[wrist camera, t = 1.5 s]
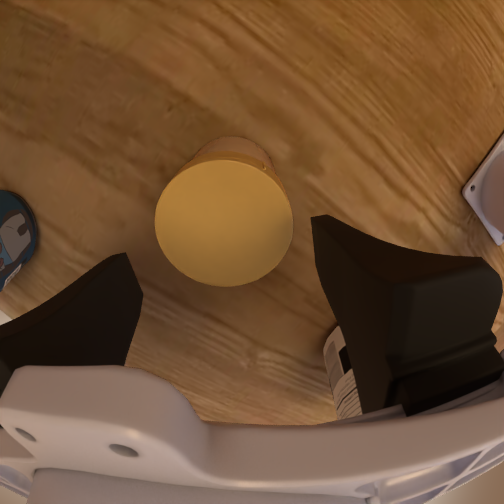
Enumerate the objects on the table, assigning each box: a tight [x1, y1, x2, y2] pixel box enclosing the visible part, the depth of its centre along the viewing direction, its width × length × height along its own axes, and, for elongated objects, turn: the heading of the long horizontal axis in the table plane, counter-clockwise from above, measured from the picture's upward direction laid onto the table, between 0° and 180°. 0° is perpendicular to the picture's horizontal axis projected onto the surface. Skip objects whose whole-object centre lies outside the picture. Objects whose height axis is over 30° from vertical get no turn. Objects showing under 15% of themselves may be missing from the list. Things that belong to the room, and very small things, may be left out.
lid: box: [155, 151, 293, 287], centre depth 14 cm, size 6×6×2 cm
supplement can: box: [323, 326, 362, 420], centre depth 21 cm, size 8×8×15 cm
